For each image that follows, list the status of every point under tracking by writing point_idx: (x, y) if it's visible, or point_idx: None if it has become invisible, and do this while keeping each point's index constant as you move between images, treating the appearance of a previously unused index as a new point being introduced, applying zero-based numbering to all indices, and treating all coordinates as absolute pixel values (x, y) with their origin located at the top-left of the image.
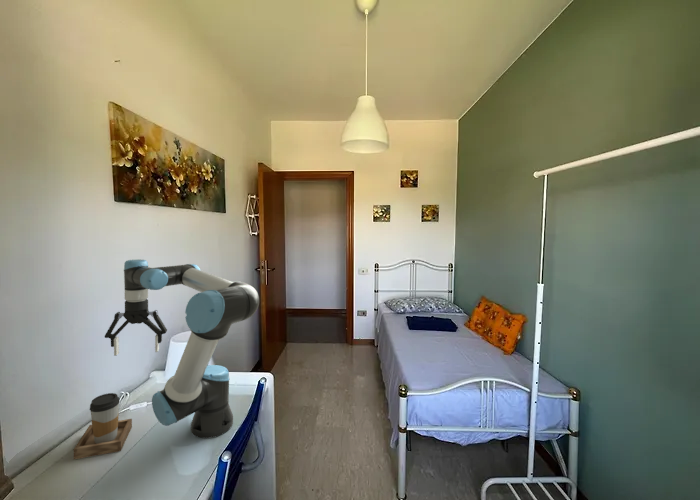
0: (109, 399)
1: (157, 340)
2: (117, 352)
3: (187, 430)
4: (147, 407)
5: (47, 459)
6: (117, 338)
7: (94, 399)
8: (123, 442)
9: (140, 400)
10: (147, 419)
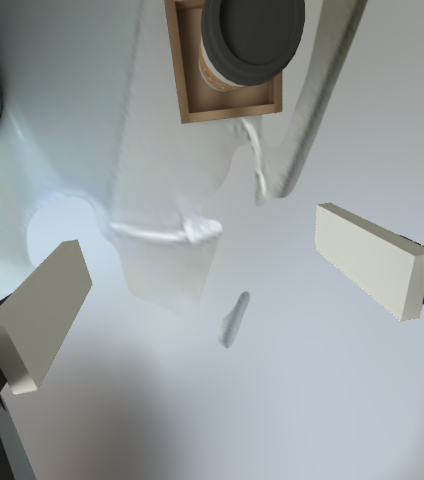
0: (240, 25)
1: (11, 295)
2: (323, 228)
3: (7, 71)
4: (178, 214)
5: (330, 16)
6: (400, 288)
7: (298, 23)
8: (168, 29)
9: (208, 248)
10: (155, 155)
